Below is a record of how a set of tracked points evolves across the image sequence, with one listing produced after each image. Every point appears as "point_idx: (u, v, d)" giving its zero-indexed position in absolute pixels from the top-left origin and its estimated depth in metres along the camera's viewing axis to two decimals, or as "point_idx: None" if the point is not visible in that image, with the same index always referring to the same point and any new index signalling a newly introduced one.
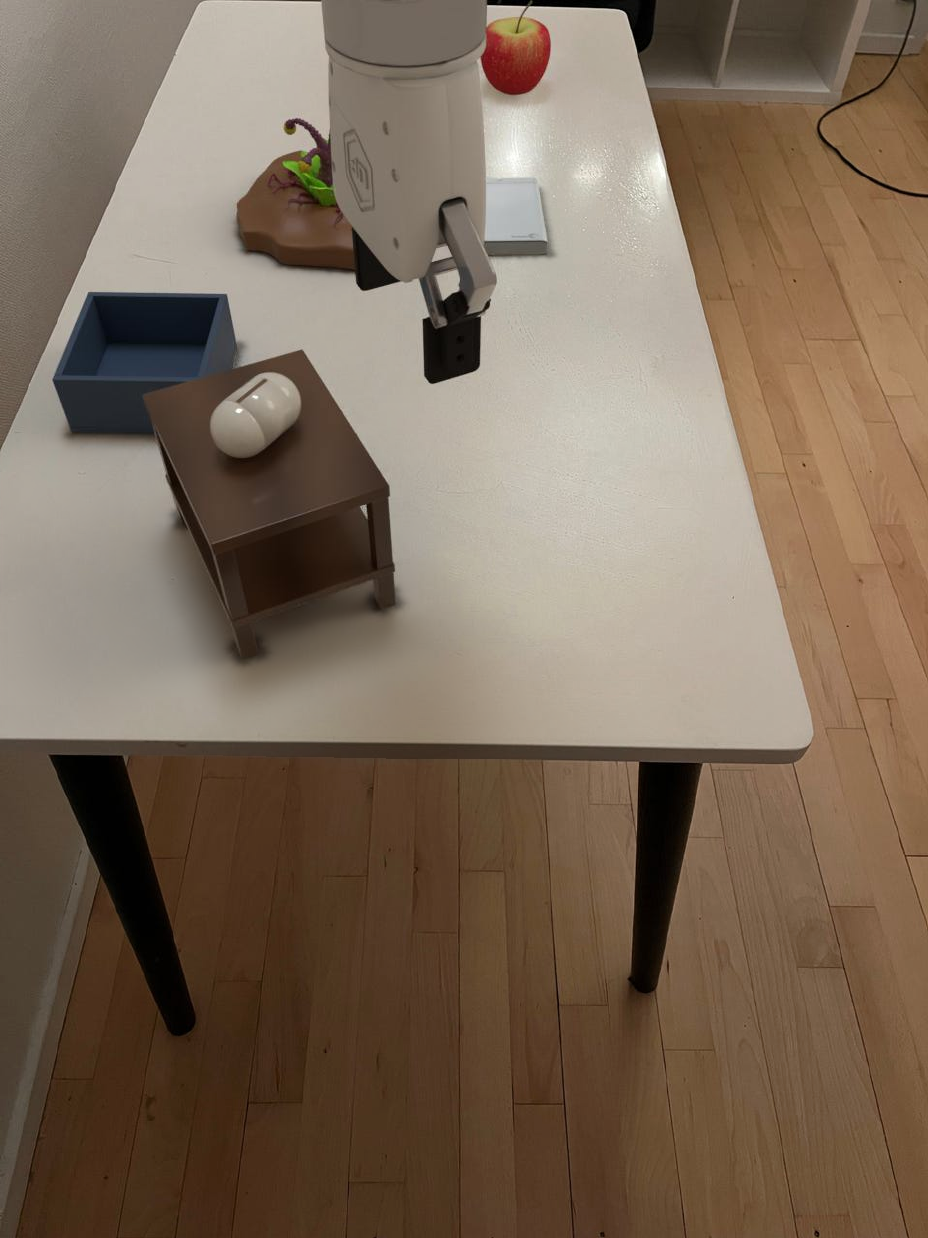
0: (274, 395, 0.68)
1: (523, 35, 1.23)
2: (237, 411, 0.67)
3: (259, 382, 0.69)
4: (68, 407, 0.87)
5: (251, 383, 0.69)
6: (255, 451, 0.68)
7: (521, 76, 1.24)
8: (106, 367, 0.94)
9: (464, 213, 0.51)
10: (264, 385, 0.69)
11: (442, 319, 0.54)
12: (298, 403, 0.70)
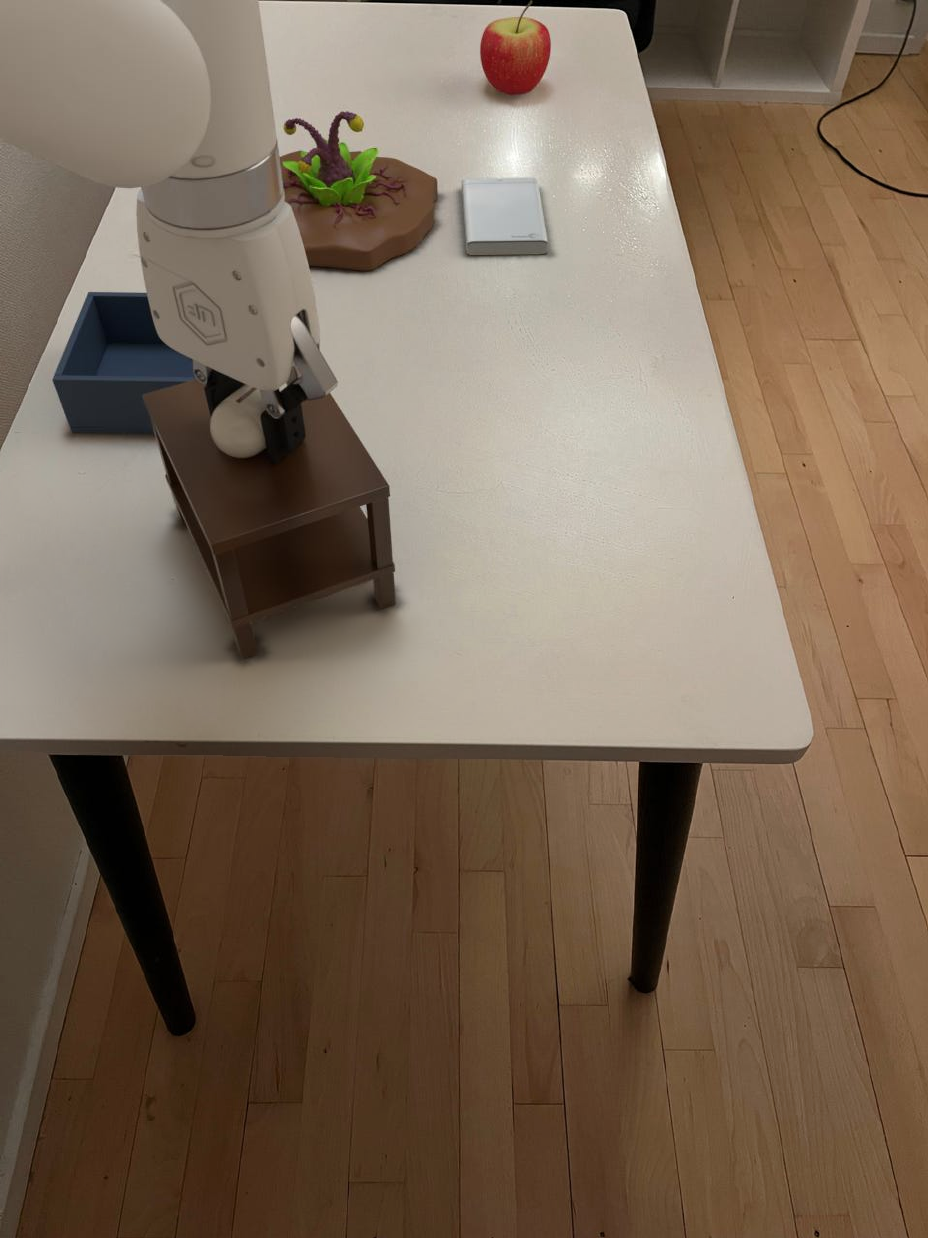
0: None
1: (523, 35, 1.23)
2: (237, 411, 0.67)
3: None
4: (68, 407, 0.87)
5: None
6: (255, 451, 0.68)
7: (521, 76, 1.24)
8: (106, 367, 0.94)
9: (306, 333, 0.62)
10: None
11: (281, 410, 0.66)
12: None
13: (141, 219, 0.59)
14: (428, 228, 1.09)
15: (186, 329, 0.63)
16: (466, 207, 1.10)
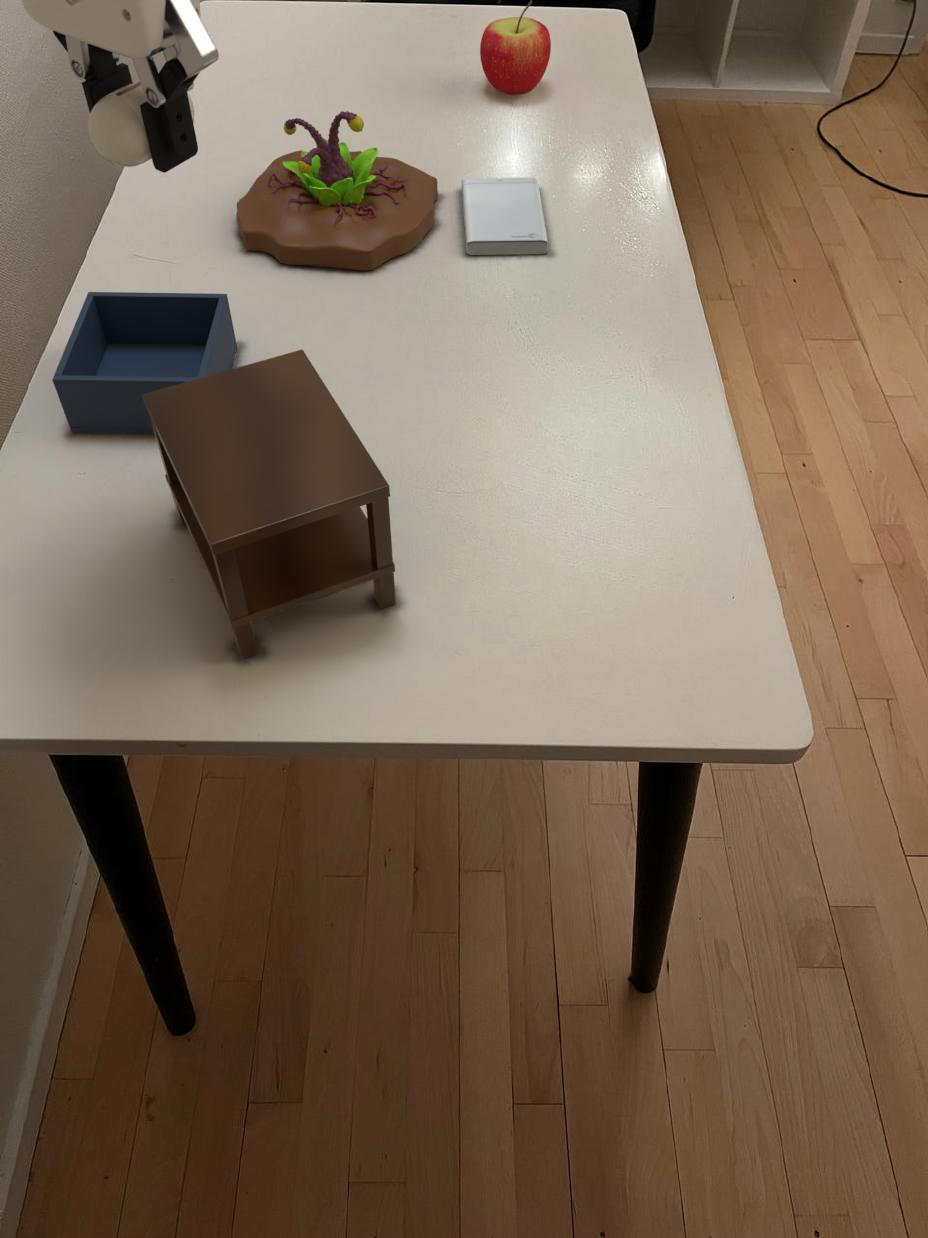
0: None
1: (523, 35, 1.23)
2: (116, 103, 0.61)
3: None
4: (68, 407, 0.87)
5: (135, 81, 0.62)
6: (138, 154, 0.62)
7: (521, 76, 1.24)
8: (106, 367, 0.94)
9: None
10: None
11: (161, 95, 0.59)
12: None
13: None
14: (428, 228, 1.09)
15: None
16: (466, 207, 1.10)
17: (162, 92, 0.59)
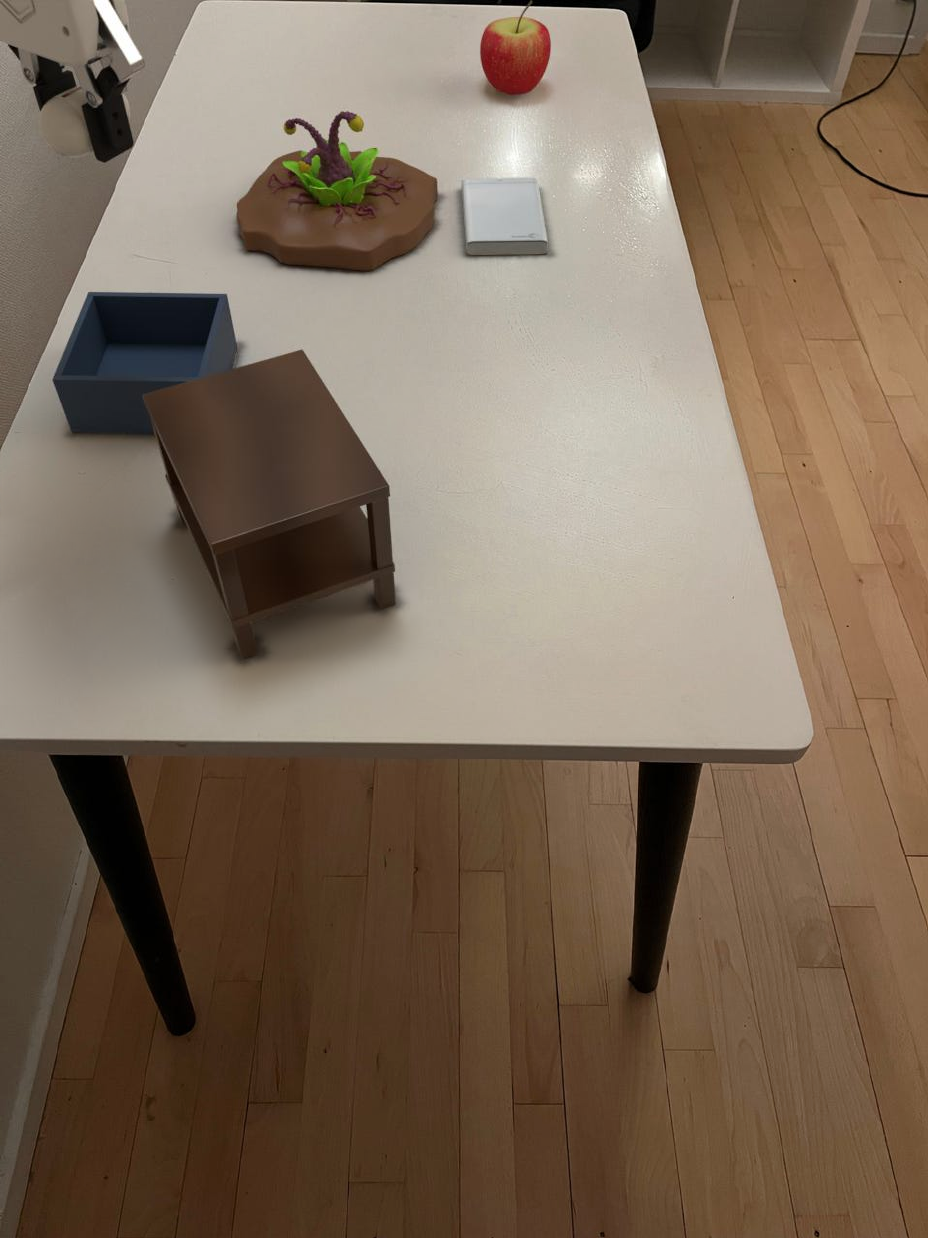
0: None
1: (523, 35, 1.23)
2: (61, 103, 0.72)
3: None
4: (68, 407, 0.87)
5: (78, 84, 0.74)
6: (81, 146, 0.74)
7: (521, 76, 1.24)
8: (106, 367, 0.94)
9: (110, 7, 0.67)
10: None
11: (98, 97, 0.71)
12: None
13: None
14: (428, 228, 1.09)
15: (2, 9, 0.68)
16: (466, 207, 1.10)
17: (99, 94, 0.71)
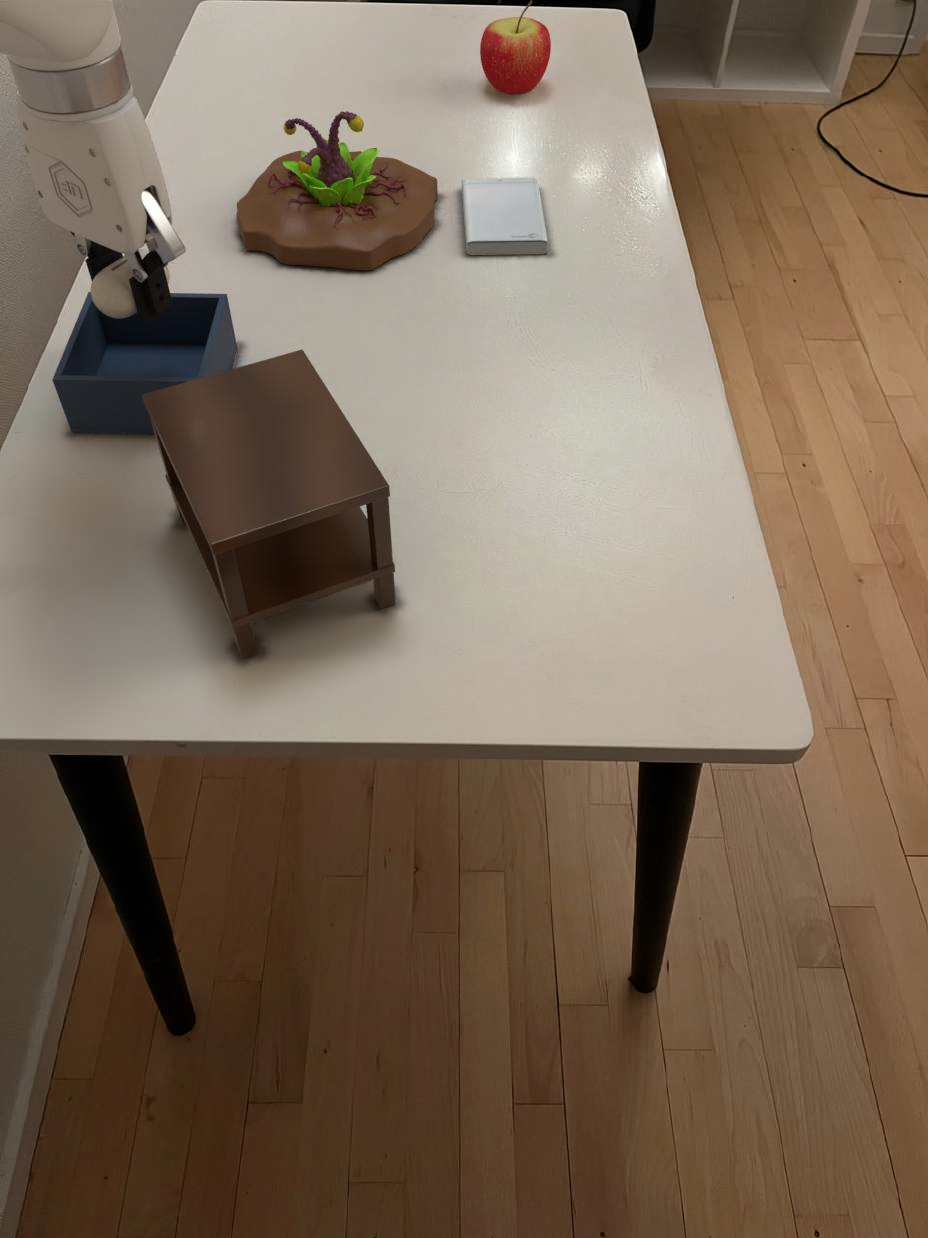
0: None
1: (523, 35, 1.23)
2: (111, 276, 0.83)
3: None
4: (68, 407, 0.87)
5: None
6: (128, 311, 0.84)
7: (521, 76, 1.24)
8: (106, 367, 0.94)
9: (156, 205, 0.77)
10: None
11: (144, 274, 0.81)
12: None
13: (20, 111, 0.74)
14: (428, 228, 1.09)
15: (62, 204, 0.78)
16: (466, 207, 1.10)
17: (145, 272, 0.81)
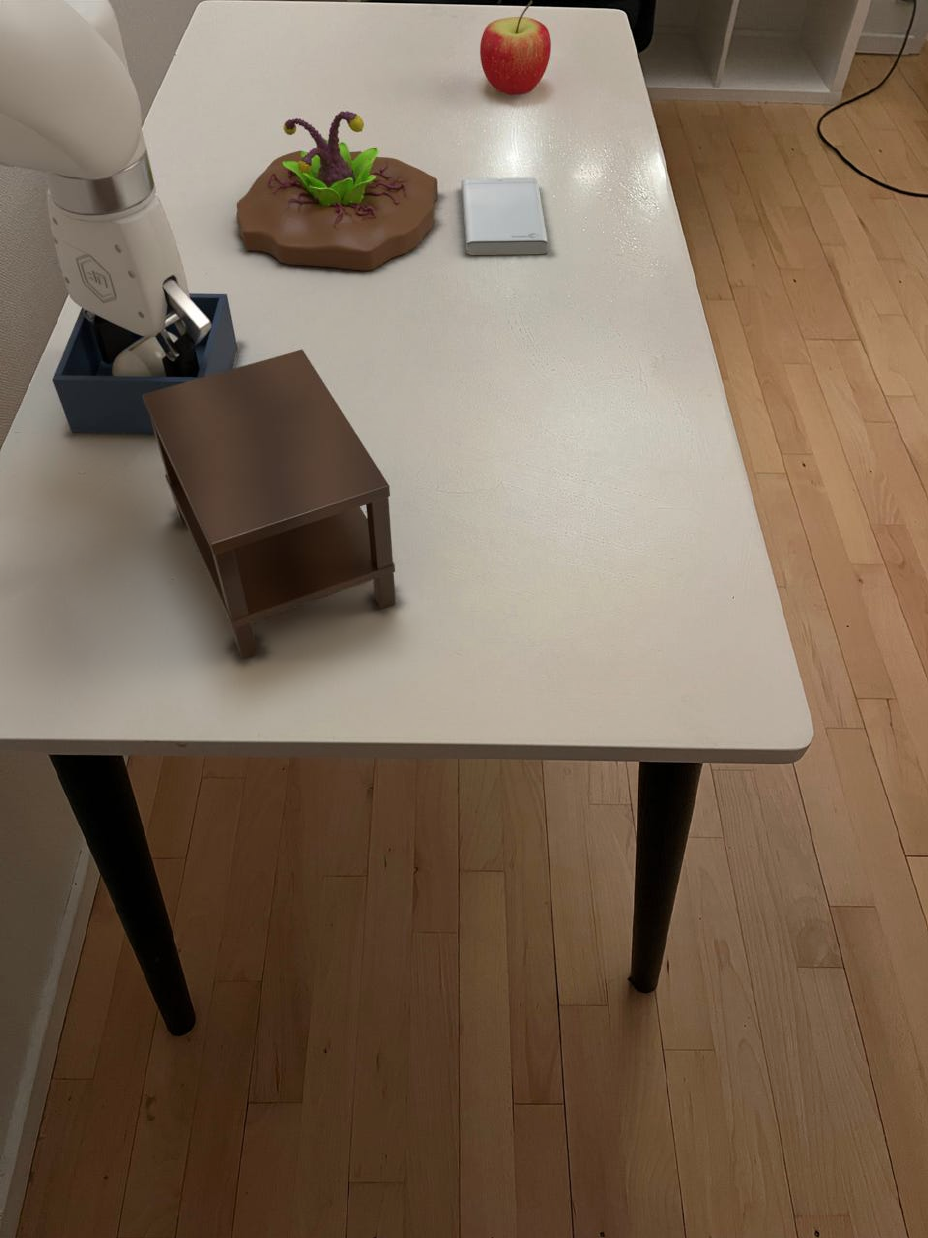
0: (158, 344, 0.90)
1: (523, 35, 1.23)
2: (129, 356, 0.89)
3: None
4: (68, 407, 0.87)
5: (142, 338, 0.91)
6: None
7: (521, 76, 1.24)
8: (106, 367, 0.94)
9: (178, 288, 0.82)
10: (151, 337, 0.90)
11: (177, 354, 0.86)
12: None
13: (50, 207, 0.80)
14: (428, 228, 1.09)
15: (88, 290, 0.84)
16: (466, 207, 1.10)
17: (178, 352, 0.86)
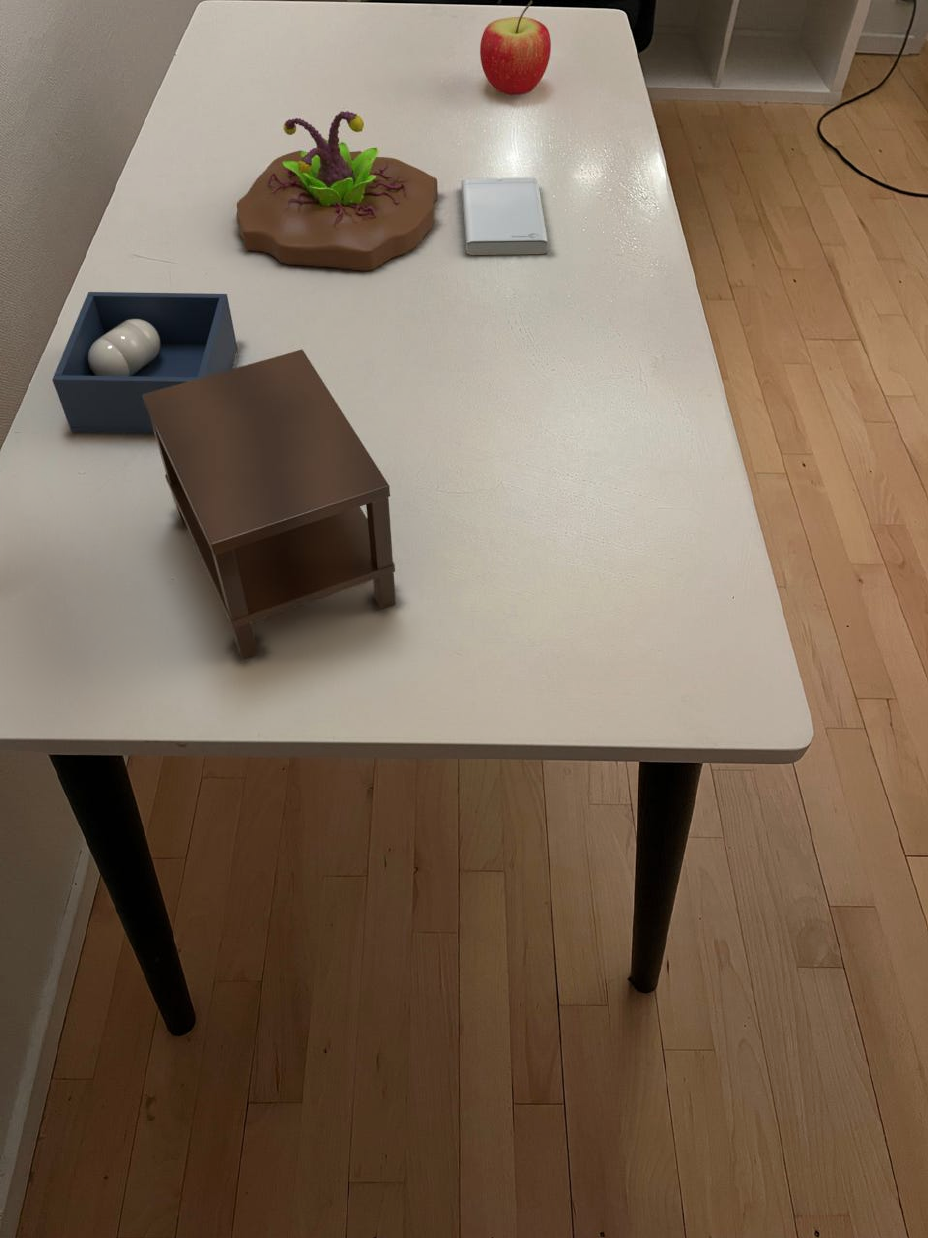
0: None
1: (523, 35, 1.23)
2: None
3: None
4: (68, 407, 0.87)
5: None
6: (105, 349, 0.90)
7: (521, 76, 1.24)
8: None
9: None
10: None
11: None
12: (134, 319, 0.92)
13: None
14: (428, 228, 1.09)
15: None
16: (466, 207, 1.10)
17: None
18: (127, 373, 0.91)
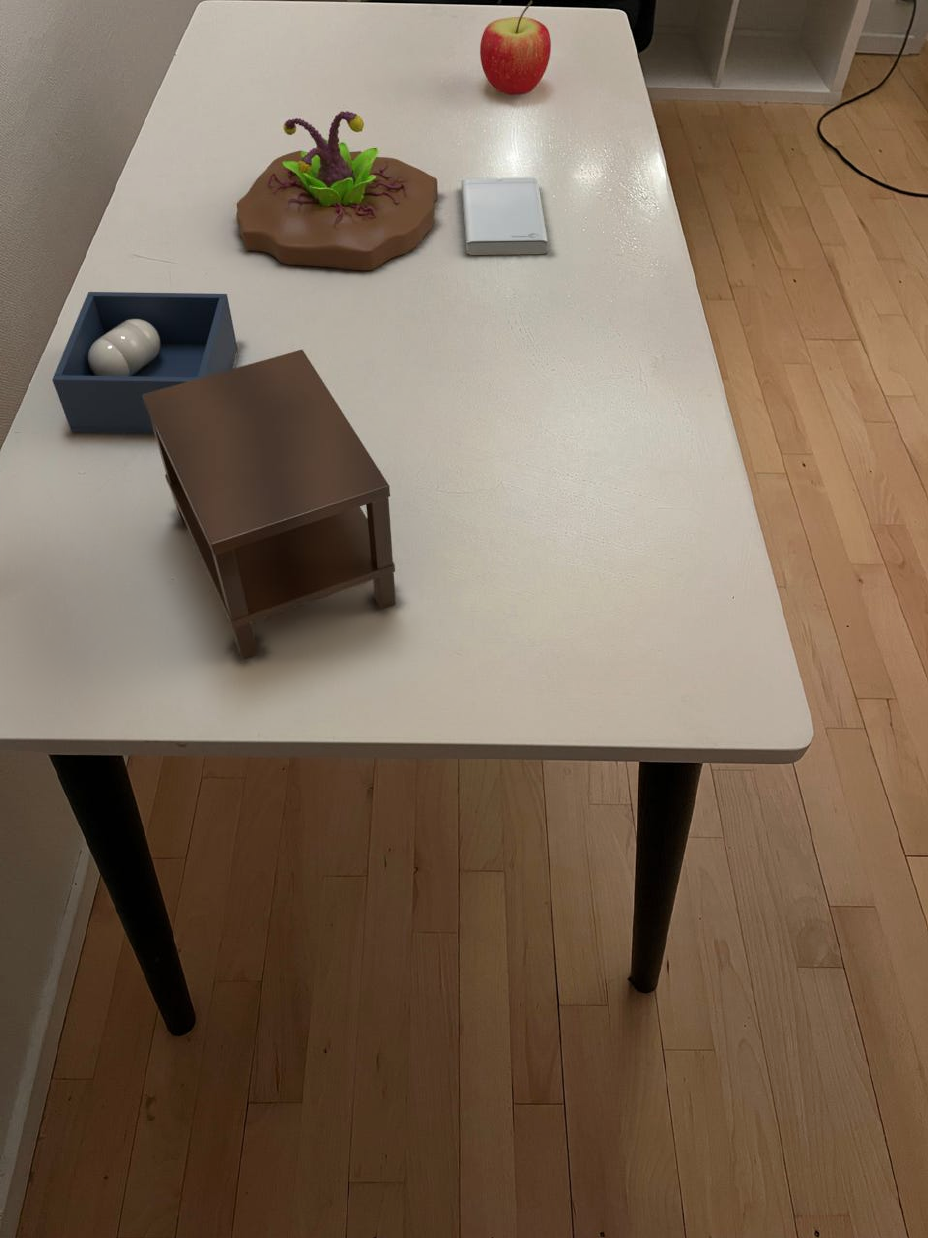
0: None
1: (523, 35, 1.23)
2: None
3: None
4: (68, 407, 0.87)
5: None
6: (105, 349, 0.90)
7: (521, 76, 1.24)
8: None
9: None
10: None
11: None
12: (134, 319, 0.92)
13: None
14: (428, 228, 1.09)
15: None
16: (466, 207, 1.10)
17: None
18: (127, 373, 0.91)
